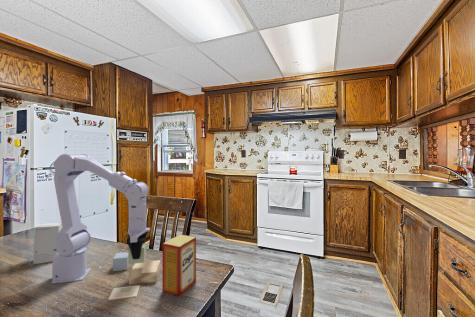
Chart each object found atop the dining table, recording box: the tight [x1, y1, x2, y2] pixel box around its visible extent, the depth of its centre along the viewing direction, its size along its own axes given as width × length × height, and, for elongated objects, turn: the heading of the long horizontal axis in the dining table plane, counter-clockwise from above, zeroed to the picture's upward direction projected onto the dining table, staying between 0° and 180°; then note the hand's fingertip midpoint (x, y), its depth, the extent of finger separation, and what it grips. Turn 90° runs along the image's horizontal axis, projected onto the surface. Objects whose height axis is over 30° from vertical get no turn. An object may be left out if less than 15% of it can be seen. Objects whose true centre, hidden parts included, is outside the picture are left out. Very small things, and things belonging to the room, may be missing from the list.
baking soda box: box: [161, 234, 197, 297], centre depth 78 cm, size 10×6×16 cm
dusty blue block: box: [112, 252, 131, 272], centre depth 90 cm, size 5×5×5 cm
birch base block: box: [128, 259, 162, 285], centre depth 84 cm, size 9×9×4 cm
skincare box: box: [32, 222, 62, 265], centre depth 96 cm, size 8×6×15 cm
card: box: [108, 284, 141, 301], centre depth 74 cm, size 8×6×1 cm
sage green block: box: [127, 242, 147, 265], centre depth 82 cm, size 5×5×5 cm
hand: (137, 255), depth 82 cm, fingers closed on sage green block, 5 cm apart
